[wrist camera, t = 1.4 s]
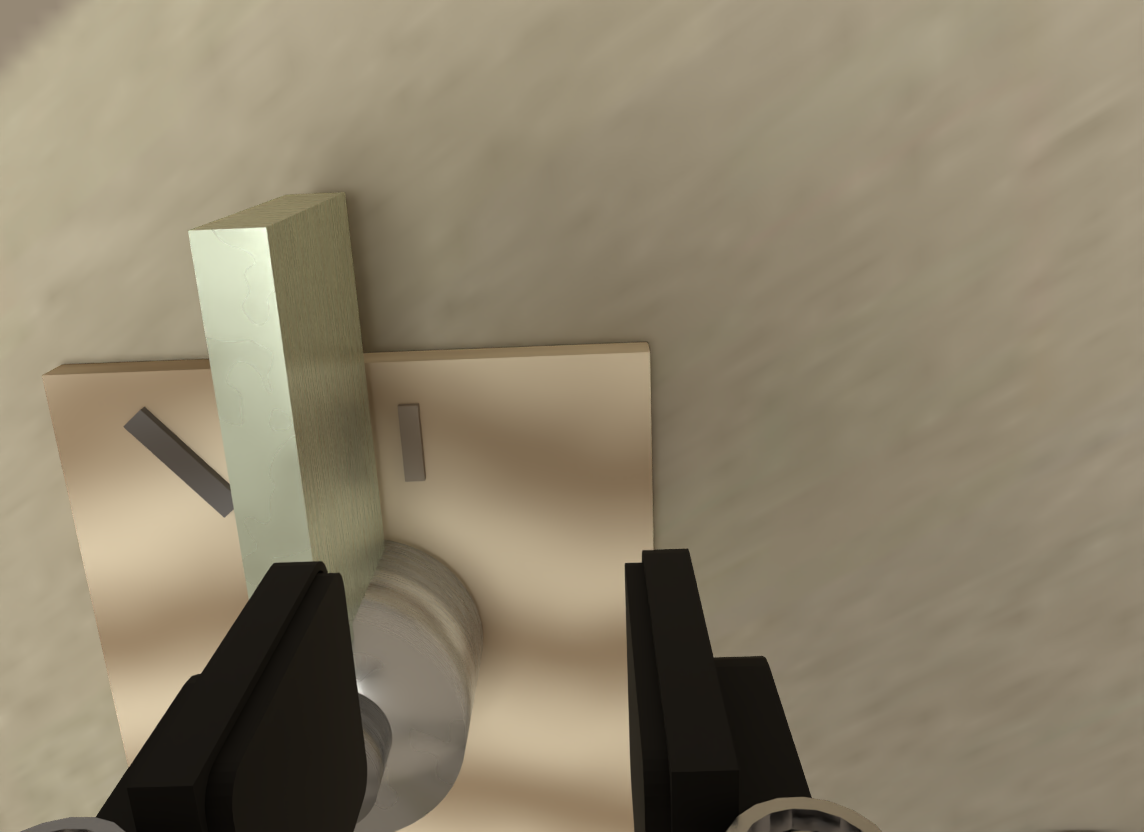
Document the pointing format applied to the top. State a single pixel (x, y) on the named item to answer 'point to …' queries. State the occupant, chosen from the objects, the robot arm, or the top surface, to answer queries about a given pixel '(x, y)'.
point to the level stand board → (409, 516)
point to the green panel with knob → (332, 486)
